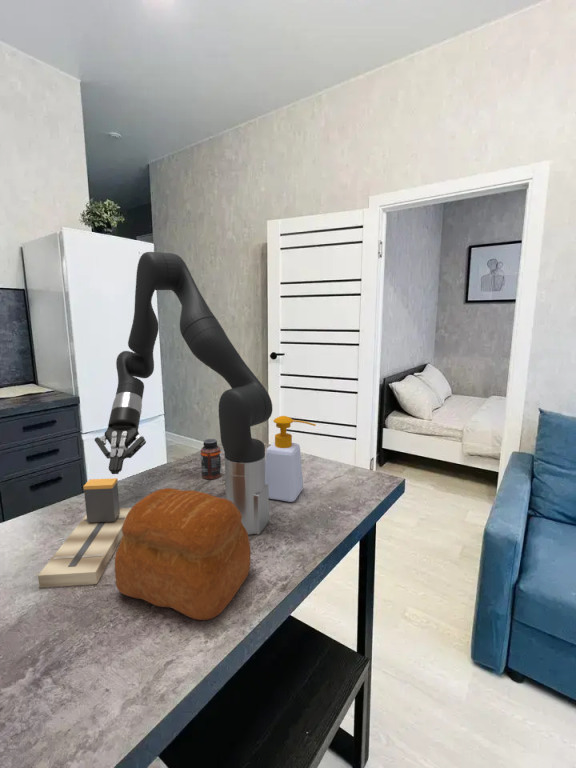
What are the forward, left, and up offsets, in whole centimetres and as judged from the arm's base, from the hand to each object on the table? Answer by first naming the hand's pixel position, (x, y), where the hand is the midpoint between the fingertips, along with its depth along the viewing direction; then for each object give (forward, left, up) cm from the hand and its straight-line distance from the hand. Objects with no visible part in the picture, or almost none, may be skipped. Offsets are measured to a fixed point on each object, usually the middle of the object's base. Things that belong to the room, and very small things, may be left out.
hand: (114, 472), depth 97 cm
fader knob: (-4, +8, -7) cm, 11 cm away
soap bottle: (-39, -23, -10) cm, 46 cm away
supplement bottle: (-12, -27, -10) cm, 31 cm away
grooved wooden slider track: (-7, +14, -10) cm, 19 cm away
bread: (-32, +17, -10) cm, 38 cm away
